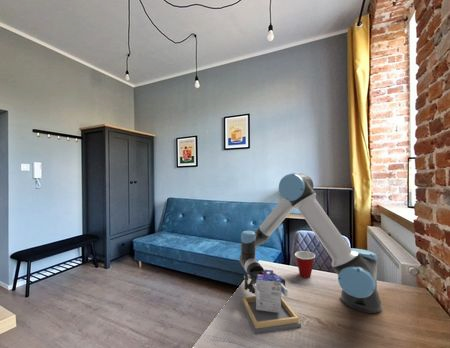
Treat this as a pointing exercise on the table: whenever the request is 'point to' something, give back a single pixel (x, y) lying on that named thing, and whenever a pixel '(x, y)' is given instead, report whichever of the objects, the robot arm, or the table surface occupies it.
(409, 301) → the table surface
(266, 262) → the table surface
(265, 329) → the tray
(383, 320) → the table surface
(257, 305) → the ink cartridge box
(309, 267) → the plastic cup
